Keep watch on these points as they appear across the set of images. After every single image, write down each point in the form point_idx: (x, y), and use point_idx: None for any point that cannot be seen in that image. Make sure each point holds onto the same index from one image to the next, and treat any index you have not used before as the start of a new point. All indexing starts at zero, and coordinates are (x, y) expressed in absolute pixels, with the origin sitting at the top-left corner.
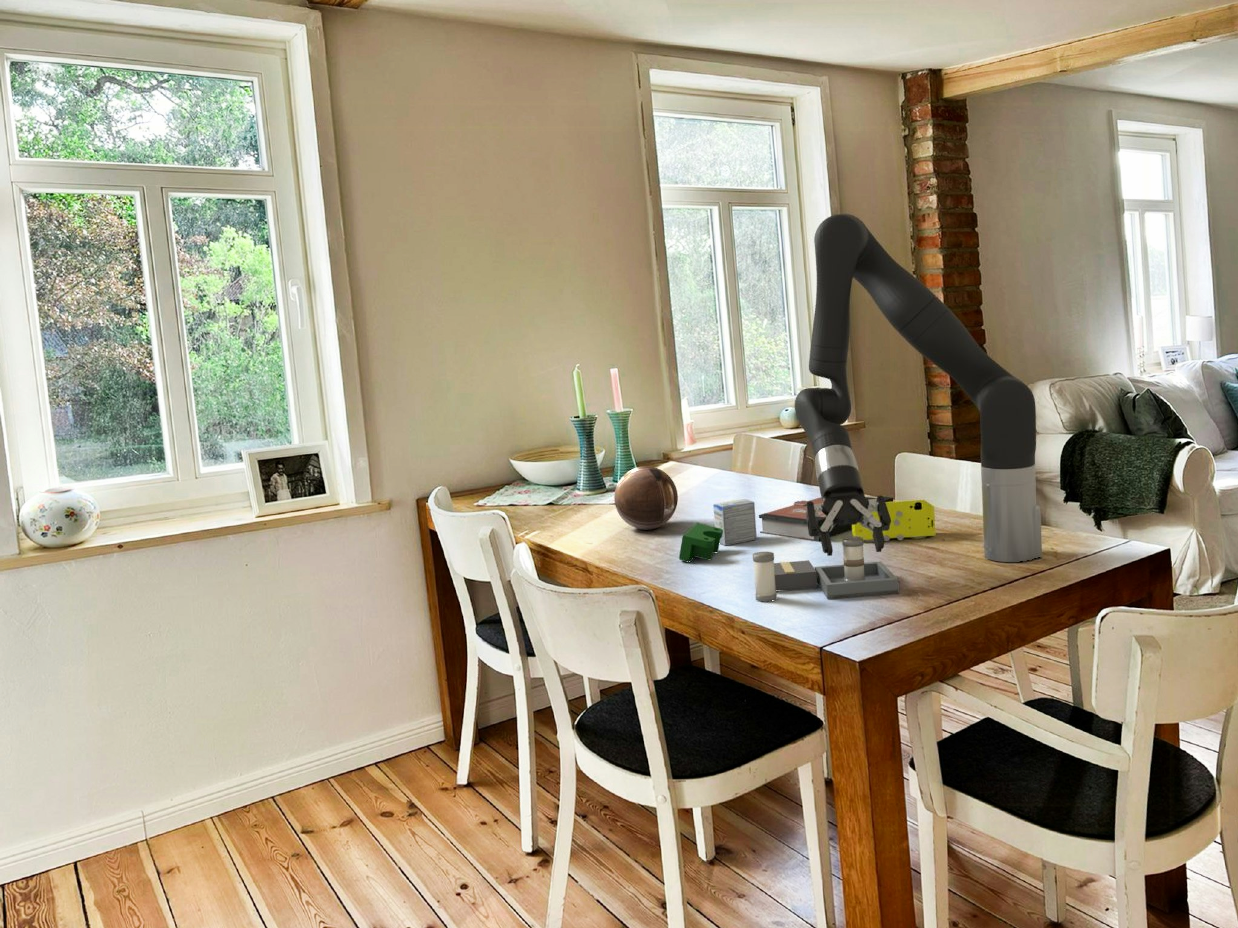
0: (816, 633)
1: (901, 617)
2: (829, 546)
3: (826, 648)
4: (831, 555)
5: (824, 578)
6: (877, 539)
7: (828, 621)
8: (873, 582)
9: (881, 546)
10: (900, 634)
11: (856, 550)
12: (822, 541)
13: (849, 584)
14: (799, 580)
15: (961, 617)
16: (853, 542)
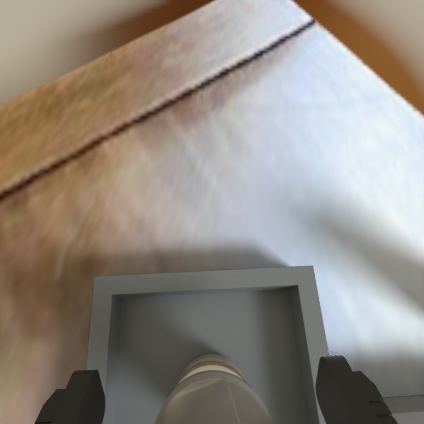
0: (323, 72)
1: (156, 118)
2: (343, 369)
3: (306, 16)
4: (317, 386)
5: (319, 344)
6: (78, 402)
7: (301, 123)
8: (171, 273)
9: (80, 370)
10: (182, 46)
11: (204, 370)
12: (394, 419)
13: (243, 270)
14: (401, 405)
15: (48, 98)
16: (218, 372)
